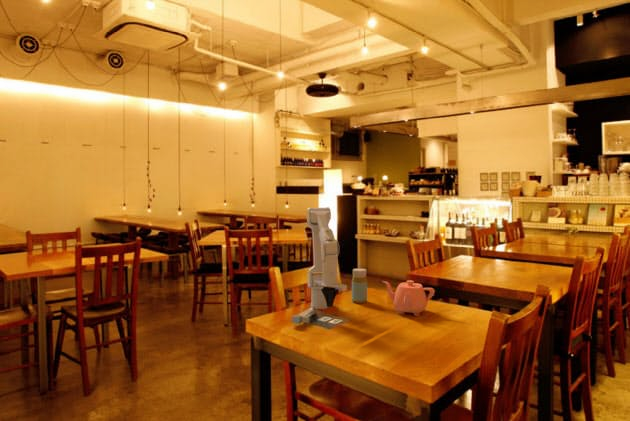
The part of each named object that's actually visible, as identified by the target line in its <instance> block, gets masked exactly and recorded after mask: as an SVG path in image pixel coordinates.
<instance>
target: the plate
mask: <svg viewBox="0 0 630 421" xmlns="http://www.w3.org/2000/svg"><path fill="white" fill-rule="evenodd" d="M323 317H329V318H332V319H331V320H329V321H332V320H334V319H338V320H343V322H340V323H338V324H336V325H335V324H331V323H328V322H329V321H326V322H323V321H318V319H320V318H323ZM349 321H350V319H348V318H343V317H339V316H336V315H332V314H326V313H321V312H317V316H309V317H307V318H306V319H304V320H302V324H303V323H304V324H308V325H312V326H314V327H315V326H316V327H320V328H324V329H327V330H330V329H333V328H335V327H337V326H339V325H342V324H344V323H347V322H349Z"/></svg>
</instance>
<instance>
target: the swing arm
mask: <svg viewBox="0 0 630 421" xmlns="http://www.w3.org/2000/svg"><path fill="white" fill-rule="evenodd" d="M317 310H318V309H317V308H316V307H311V306H310V307H309V308H307V309H305V310H304V311H302V312H301V313H298V314H293V315H292V316H291V323H292V324H298V325H301V324H303V322H302V320H304V319H306V318H307V317H309V316H317V313H318V311H317Z"/></svg>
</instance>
